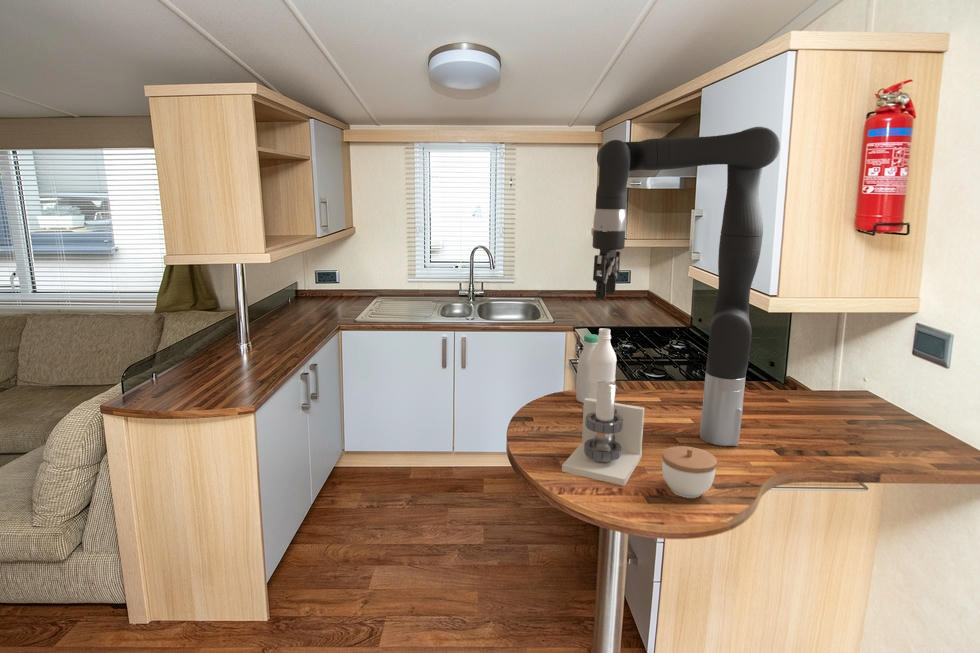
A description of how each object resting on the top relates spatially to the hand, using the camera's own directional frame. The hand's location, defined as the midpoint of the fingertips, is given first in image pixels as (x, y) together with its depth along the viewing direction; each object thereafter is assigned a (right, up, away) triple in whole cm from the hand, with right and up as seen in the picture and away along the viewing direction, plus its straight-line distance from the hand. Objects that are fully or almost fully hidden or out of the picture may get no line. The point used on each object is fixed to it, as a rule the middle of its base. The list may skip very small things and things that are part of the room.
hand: (605, 295), depth 143 cm
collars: (-2, -36, -9) cm, 37 cm away
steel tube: (-3, -38, -10) cm, 39 cm away
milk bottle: (+2, -30, +33) cm, 45 cm away
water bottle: (+2, -33, +20) cm, 38 cm away
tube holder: (-3, -39, -10) cm, 40 cm away
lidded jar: (+13, -42, -21) cm, 48 cm away
